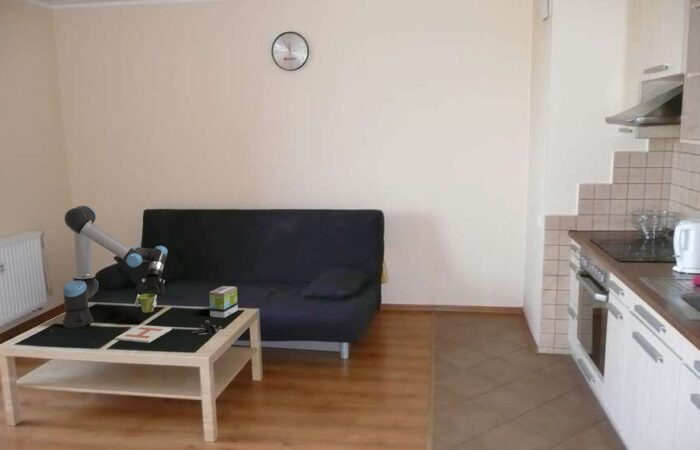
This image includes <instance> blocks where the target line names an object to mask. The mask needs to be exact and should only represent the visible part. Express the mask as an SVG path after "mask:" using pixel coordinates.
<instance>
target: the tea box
mask: <svg viewBox="0 0 700 450" xmlns="http://www.w3.org/2000/svg"><path fill="white" fill-rule="evenodd" d="M238 306H239V304H238V287H237V286H230V285H229V286H228V285H226V286H225V285H221V286H220V287H217V288H216V289H213V290H211V291H209V309H210V310H209V315H210V317H212V318H222V319H225V318H226V317H228V316H230V315H231V314H234V313H236V312H237V311H239V310H238V309H239V307H238Z"/></svg>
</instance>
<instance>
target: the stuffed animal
mask: <svg viewBox="0 0 700 450" xmlns="http://www.w3.org/2000/svg"><path fill="white" fill-rule="evenodd" d="M200 327H201V328H202V329H203V330H196V331H191V334H199V335H212V334H215V333H218V331H219V330H221V329H222V327H223V326H222V325H220V326H219V327H217V328H216V324H215V325H214V324H212V323H211V321H210V320H209V319H208V320H205V321H204V324H201V325H200Z"/></svg>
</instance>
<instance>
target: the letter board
mask: <svg viewBox="0 0 700 450" xmlns="http://www.w3.org/2000/svg"><path fill="white" fill-rule="evenodd" d="M172 329H173V328H172V327H169V326H168V327H165V326H156V325H154V326H153V325H144V324H139V325H137V326H135V327H133V328H131V329H130V330H128V331H125V332H124V333H122V334H120V335H118V336H115V338H114V339H115V340H117V341H127V342H137V343H147V344H148V343H151V342H152V341H154V340H156V339H158V338H160V337H161V336H163V335H165V334H167V333H168V332H170V331H172Z"/></svg>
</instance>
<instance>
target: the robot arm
mask: <svg viewBox="0 0 700 450" xmlns="http://www.w3.org/2000/svg"><path fill="white" fill-rule="evenodd" d="M63 218H64V223H65V226H66V227H68V228H69V229H70V230H71V231H72V232H73V234H74V252H75V253H74V254H75V255H74V257H75V274H74V275H73V277H72V279H73V280H72V281H69V282H67V283H65V284H64V285H63V288H62V291H63V292H62V294H63V300H64V301H63V302H64V309H65V312H64V317H63V320H62V323H63V327H64V328H67V329H68V328H69V329H74V328H75V329H76V328H82V327H86V326H85V325H87V324H89V323H91V324H93V322H94V318H93V316H92V314H91V311H90V309H89V301H88V300H89V299H90V298H92V297H93V296H94V295H95V294H96V293H97V292H98V289H99V282H98V281H97V278H96V274H95V273H94V272H93V253H92V248H93V247H92V241H93V242H95V243H96V244H98V245H99V246H101V247H102V248H104V249H105V250H107V251H109V252H110V253H113V254H114V255H116V256H117V257H118V258H121V259H122V260H123V261H125V262H126V265H127V266H129V267H131V268H136V267H138V266H140V265H141V264H142V263H143V262H147V263H150V264H149V267H148V270H147V274H146V277H145V278H142V277H141V278H139V282H138V284H137V285H136V287H135V289H134V291H133V294H134V298H135V299H134V300H135V302H134V306H135V307H136V308H139V307H138V306H139V305H140V301H139V298H138V296H140V295H143V294H144V293H143V292H144V291H145V290H146V289H147V288H149V287H154V288H155V291H156V294H155V298H154V302H153V306H154V308H156V306H157V303H158V302H159V301H160V298H161V297H164V295H165V283H166V280H165V278H162V274H163V270H164V267H165V263H166V260H167V257H168V253H169V252H168V251H169V250H168V249H167V247H165V246H163V245H157V246H155V247H154V248H146V247H140V246H138V247H137V246H133V247H130V246H128V245H127V244H125V243H124V242H122V241H121V240H119V239H118V238H116V237H114V236H113V235H111V234H110V233H108V232H106V231H105V230H103V229H102V228H100V227H99V226H97V225H95V224H94V223H95V221H96V219H97V214H96V212H95V210H94V208H92V207H91V206H88V205H78V206H75V207H74V208H70V209H69V210H67V212H65V215H64V217H63ZM159 283H160V288H159ZM89 325H90V324H89ZM87 326H88V325H87Z"/></svg>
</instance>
